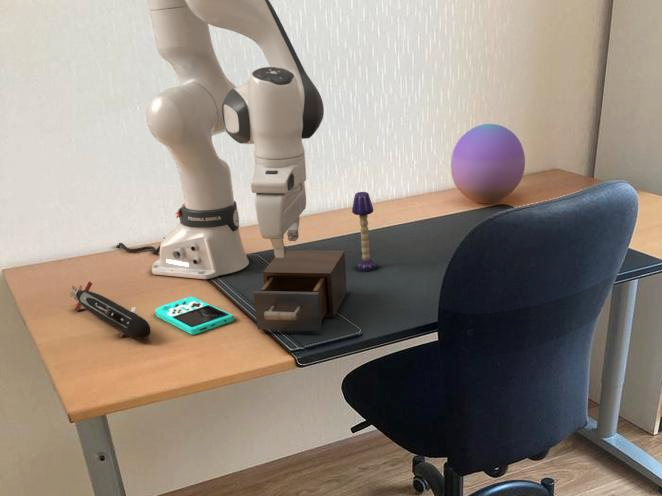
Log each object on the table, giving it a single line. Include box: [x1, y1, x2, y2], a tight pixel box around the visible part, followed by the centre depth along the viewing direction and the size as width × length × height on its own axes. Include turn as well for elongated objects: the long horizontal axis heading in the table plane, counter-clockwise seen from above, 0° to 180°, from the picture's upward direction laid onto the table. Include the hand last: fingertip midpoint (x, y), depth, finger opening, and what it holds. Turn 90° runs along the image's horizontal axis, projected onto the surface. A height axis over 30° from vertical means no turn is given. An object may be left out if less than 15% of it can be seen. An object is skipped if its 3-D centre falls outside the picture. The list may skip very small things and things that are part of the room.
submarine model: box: [68, 281, 152, 340], centre depth 166 cm, size 31×7×10 cm
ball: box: [450, 123, 526, 204], centre depth 225 cm, size 20×20×20 cm
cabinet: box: [262, 249, 348, 319], centre depth 170 cm, size 14×14×9 cm
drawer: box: [252, 276, 329, 332], centre depth 160 cm, size 17×12×7 cm
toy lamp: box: [351, 191, 377, 272], centre depth 184 cm, size 5×5×17 cm
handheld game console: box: [154, 296, 235, 336], centre depth 169 cm, size 10×16×1 cm, turn 41°
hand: (287, 248), depth 155 cm, fingers open, 8 cm apart
